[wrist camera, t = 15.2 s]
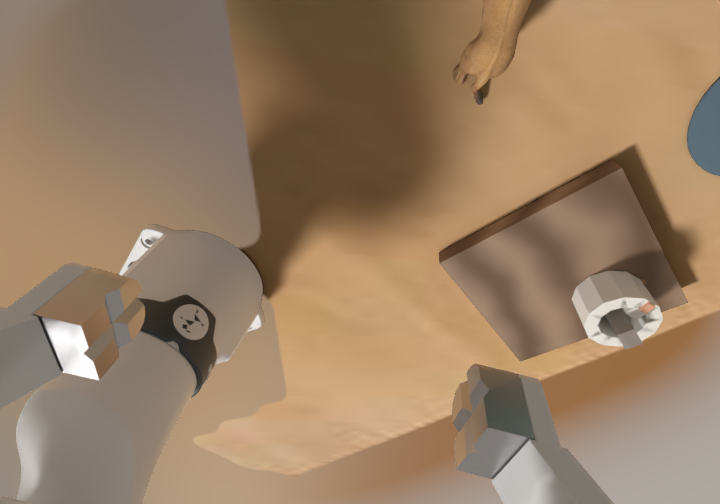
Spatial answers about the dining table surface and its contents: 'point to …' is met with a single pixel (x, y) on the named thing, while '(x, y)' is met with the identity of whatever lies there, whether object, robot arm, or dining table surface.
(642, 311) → the white hollow tube
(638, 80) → the dining table surface
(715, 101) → the cocktail glass
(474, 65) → the lion figurine
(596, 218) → the board
